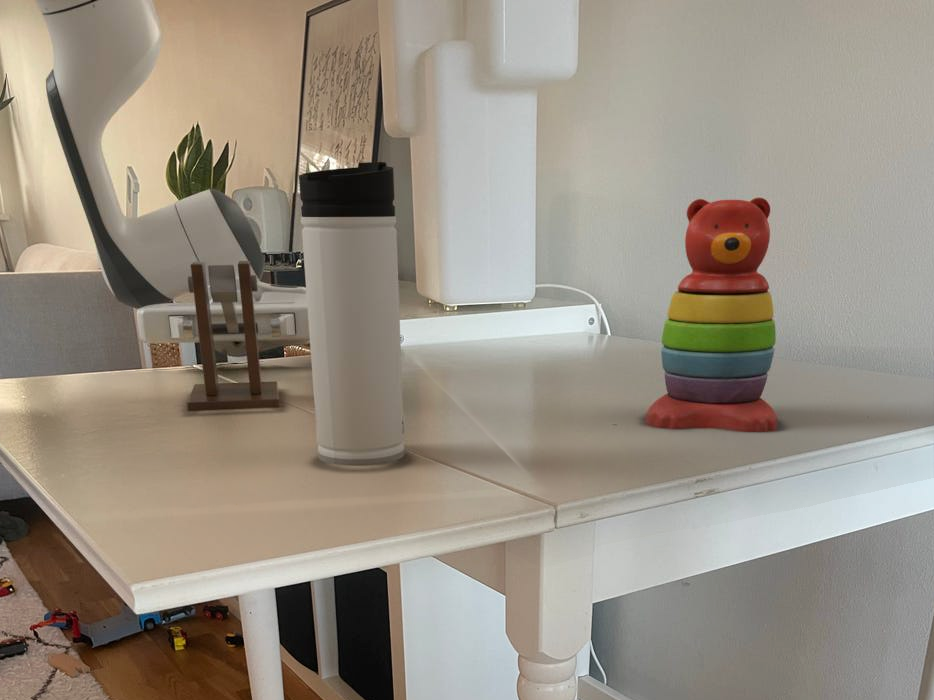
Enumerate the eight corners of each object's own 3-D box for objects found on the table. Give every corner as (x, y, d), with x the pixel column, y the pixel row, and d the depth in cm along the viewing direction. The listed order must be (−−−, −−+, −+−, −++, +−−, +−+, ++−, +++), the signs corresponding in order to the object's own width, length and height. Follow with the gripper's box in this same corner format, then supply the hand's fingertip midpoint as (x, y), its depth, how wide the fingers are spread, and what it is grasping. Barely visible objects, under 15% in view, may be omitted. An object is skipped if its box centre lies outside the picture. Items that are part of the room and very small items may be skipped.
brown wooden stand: (195, 399, 96) (178, 260, 90) (278, 396, 97) (266, 259, 92) (189, 419, 87) (169, 266, 81) (280, 415, 88) (266, 264, 83)
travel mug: (424, 460, 72) (415, 161, 64) (370, 480, 67) (354, 157, 59) (357, 450, 75) (341, 163, 67) (301, 468, 70) (276, 160, 62)
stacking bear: (643, 431, 81) (659, 197, 74) (651, 408, 90) (665, 198, 83) (777, 436, 79) (806, 196, 72) (771, 413, 88) (797, 197, 81)
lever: (210, 342, 101) (208, 319, 101) (259, 340, 102) (257, 317, 102) (194, 293, 86) (191, 265, 85) (251, 291, 86) (249, 264, 86)
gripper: (139, 289, 111) (123, 299, 98) (320, 286, 114) (327, 295, 102) (146, 346, 113) (132, 363, 101) (323, 342, 117) (331, 357, 105)
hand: (232, 329), depth 101 cm, fingers open, 8 cm apart
